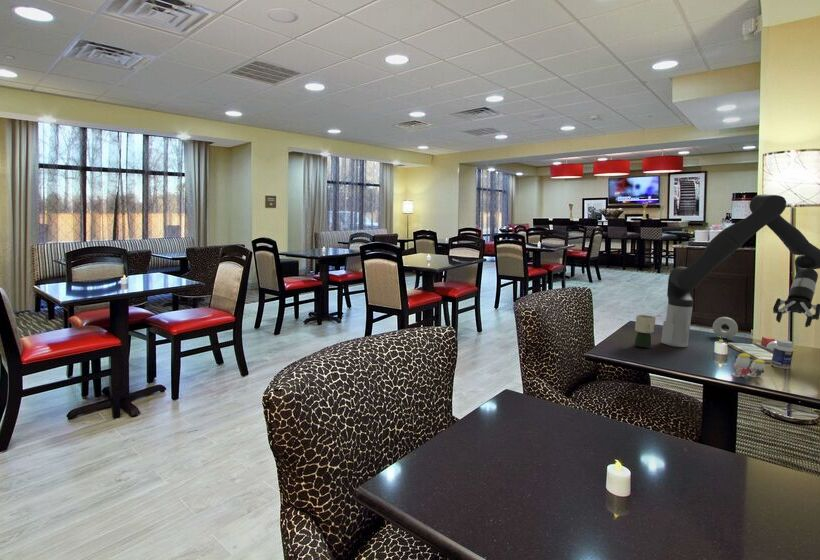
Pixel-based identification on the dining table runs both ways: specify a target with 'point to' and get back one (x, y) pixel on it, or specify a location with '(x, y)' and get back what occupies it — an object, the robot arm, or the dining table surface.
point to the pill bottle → (782, 354)
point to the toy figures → (743, 362)
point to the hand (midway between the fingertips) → (792, 323)
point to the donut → (728, 321)
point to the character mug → (644, 330)
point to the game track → (753, 351)
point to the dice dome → (767, 344)
